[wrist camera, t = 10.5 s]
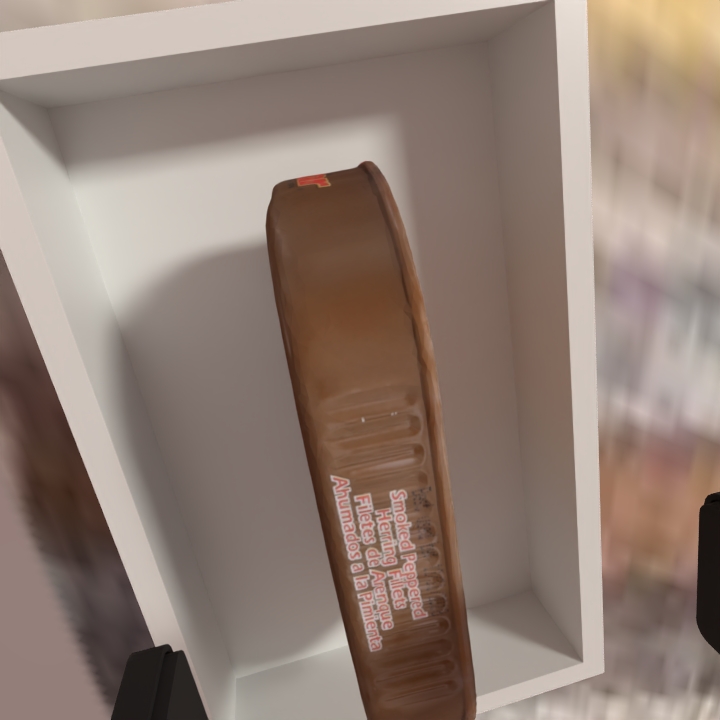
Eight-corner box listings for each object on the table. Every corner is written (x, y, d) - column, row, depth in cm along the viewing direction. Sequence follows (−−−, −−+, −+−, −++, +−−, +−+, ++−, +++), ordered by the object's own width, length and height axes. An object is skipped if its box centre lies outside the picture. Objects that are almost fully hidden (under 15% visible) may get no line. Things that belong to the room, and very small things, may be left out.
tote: (15, 85, 15) (-79, 43, 10) (499, 14, 16) (585, -47, 12) (221, 682, 22) (215, 800, 18) (540, 586, 24) (604, 672, 19)
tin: (415, 570, 21) (515, 798, 13) (336, 592, 21) (390, 841, 13) (350, 165, 16) (449, 142, 8) (245, 183, 16) (243, 177, 8)
